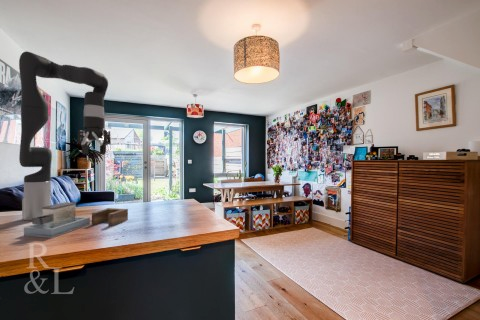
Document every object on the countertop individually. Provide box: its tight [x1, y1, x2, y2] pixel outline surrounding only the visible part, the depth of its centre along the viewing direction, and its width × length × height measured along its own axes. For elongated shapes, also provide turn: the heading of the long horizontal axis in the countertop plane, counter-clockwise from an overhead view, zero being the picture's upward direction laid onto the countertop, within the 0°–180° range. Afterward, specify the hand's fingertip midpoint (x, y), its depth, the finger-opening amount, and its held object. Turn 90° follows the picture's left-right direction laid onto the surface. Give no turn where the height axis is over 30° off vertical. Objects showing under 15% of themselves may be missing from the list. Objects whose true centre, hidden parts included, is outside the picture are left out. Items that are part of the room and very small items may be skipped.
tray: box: [23, 216, 91, 239], centre depth 86 cm, size 12×16×3 cm
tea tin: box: [31, 201, 77, 228], centre depth 85 cm, size 5×13×9 cm, turn 170°
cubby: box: [91, 207, 129, 227], centre depth 97 cm, size 10×10×5 cm
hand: (94, 154), depth 95 cm, fingers open, 8 cm apart
